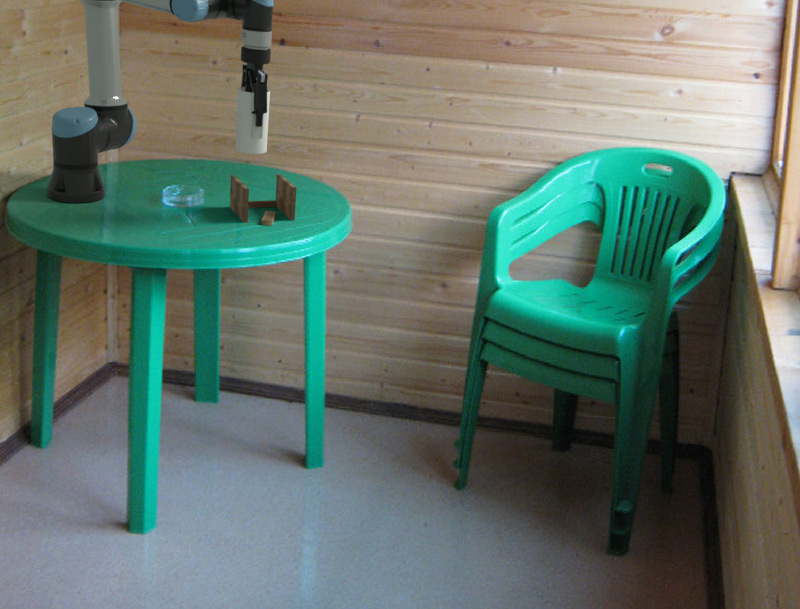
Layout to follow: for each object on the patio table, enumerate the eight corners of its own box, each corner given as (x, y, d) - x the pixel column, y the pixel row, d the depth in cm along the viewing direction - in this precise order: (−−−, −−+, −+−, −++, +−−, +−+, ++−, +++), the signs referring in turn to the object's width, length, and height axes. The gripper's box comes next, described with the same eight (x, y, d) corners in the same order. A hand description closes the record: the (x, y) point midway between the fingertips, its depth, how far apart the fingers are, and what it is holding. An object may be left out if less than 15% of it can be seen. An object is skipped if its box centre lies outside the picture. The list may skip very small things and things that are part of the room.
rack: (229, 210, 290) (230, 175, 286) (278, 208, 295) (280, 173, 292) (243, 225, 278) (245, 189, 274) (294, 223, 283) (296, 187, 280)
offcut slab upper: (261, 225, 277) (261, 220, 277) (265, 216, 285) (265, 210, 285) (271, 226, 277) (272, 220, 277) (275, 216, 285) (276, 211, 285)
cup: (231, 146, 281) (234, 86, 275) (261, 146, 285) (264, 86, 279) (240, 154, 274) (243, 92, 269) (270, 153, 278) (274, 93, 272)
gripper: (230, 39, 277) (226, 124, 285) (254, 53, 259) (250, 144, 268) (257, 40, 280) (253, 124, 288) (283, 54, 262) (278, 143, 271)
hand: (251, 134), depth 278 cm, fingers closed on cup, 8 cm apart
